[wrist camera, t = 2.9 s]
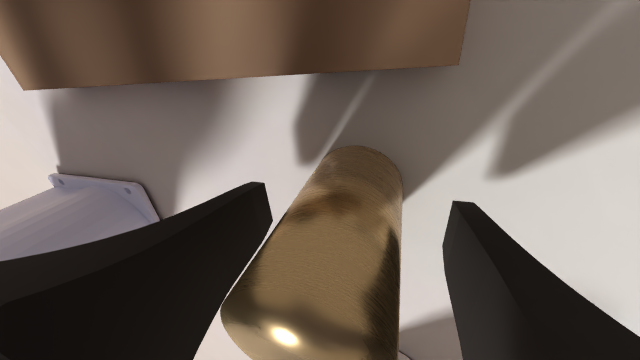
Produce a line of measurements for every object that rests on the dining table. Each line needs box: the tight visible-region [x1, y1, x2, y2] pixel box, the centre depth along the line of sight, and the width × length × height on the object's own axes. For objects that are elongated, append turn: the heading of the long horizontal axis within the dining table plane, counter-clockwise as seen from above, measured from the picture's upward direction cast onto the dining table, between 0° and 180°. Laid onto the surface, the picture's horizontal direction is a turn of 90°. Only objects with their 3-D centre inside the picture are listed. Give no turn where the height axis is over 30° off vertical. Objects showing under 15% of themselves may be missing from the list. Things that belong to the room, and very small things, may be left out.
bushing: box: [220, 146, 403, 360], centre depth 8 cm, size 4×4×7 cm
